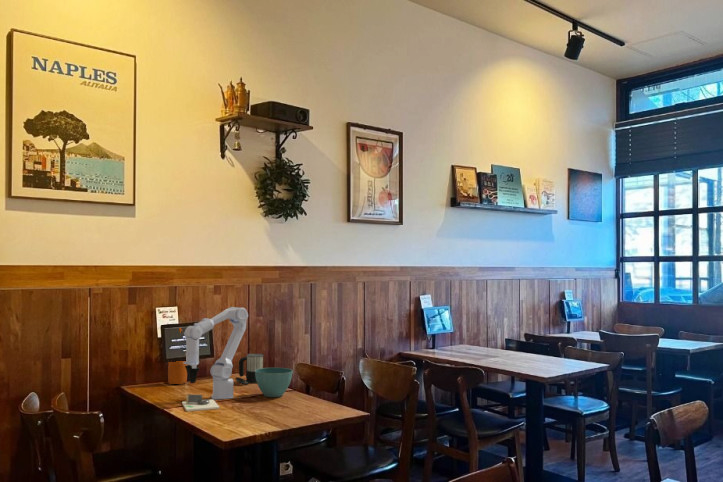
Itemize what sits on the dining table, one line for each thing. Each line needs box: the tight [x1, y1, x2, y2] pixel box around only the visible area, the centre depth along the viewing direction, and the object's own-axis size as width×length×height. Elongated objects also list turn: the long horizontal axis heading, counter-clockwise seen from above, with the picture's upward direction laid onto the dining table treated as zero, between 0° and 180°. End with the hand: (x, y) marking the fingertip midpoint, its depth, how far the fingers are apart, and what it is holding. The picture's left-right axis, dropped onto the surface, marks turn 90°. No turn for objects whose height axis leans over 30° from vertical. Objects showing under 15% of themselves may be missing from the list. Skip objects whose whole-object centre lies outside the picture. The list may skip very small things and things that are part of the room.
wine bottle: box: [167, 327, 188, 385], centre depth 323 cm, size 10×10×30 cm
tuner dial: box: [185, 393, 210, 404], centre depth 270 cm, size 11×5×3 cm, turn 83°
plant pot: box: [255, 367, 294, 398], centre depth 293 cm, size 18×18×12 cm
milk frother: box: [234, 353, 264, 386], centre depth 326 cm, size 14×16×15 cm
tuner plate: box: [181, 398, 220, 412], centre depth 269 cm, size 14×17×1 cm
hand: (191, 382), depth 276 cm, fingers open, 5 cm apart
